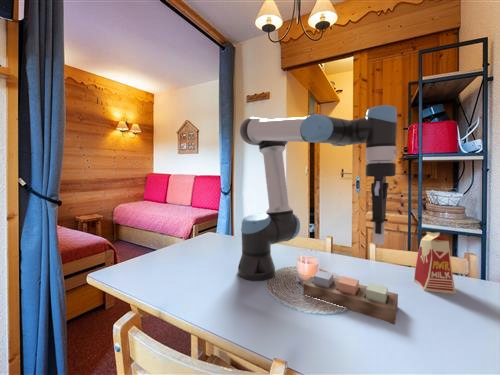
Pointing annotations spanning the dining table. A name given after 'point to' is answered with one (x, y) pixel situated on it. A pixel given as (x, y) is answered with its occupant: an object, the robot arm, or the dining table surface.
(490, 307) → the dining table surface
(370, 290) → the sage button
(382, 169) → the robot arm
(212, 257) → the dining table surface
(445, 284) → the milk carton
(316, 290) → the button panel
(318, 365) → the dining table surface
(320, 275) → the slate button
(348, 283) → the terracotta button
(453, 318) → the dining table surface
